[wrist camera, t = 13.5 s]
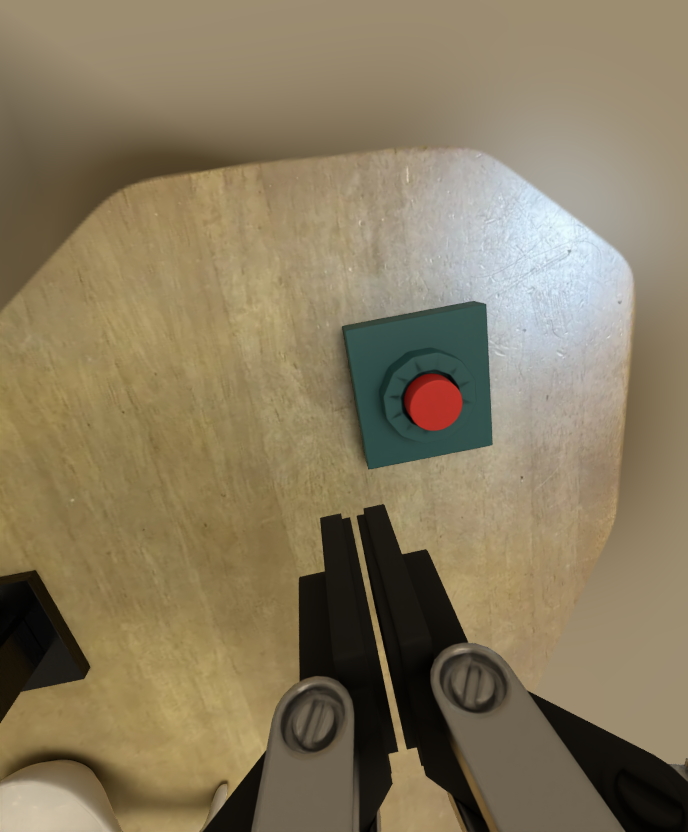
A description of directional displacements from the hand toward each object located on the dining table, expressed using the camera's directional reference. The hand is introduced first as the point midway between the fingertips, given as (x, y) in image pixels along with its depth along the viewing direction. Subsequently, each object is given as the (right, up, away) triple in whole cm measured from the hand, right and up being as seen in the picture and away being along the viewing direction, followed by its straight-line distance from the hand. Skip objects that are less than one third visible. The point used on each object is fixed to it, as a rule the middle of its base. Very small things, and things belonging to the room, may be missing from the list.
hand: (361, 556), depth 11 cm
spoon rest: (-25, -37, +36) cm, 57 cm away
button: (+6, +5, +19) cm, 20 cm away
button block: (+5, +6, +22) cm, 23 cm away
